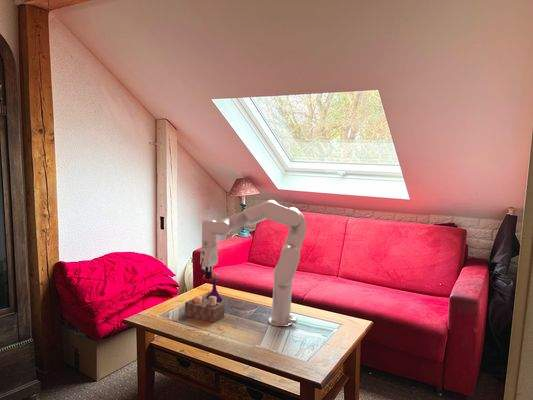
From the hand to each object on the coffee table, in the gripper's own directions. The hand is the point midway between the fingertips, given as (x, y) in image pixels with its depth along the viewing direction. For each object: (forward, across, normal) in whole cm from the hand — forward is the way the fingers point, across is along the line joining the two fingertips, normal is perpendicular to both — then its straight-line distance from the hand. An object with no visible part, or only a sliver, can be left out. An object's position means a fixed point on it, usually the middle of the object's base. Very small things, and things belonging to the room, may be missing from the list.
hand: (208, 278), depth 209 cm
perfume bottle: (+21, +18, +8) cm, 28 cm away
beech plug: (+17, 0, -3) cm, 17 cm away
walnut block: (+20, 0, +2) cm, 20 cm away
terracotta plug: (+18, 0, +6) cm, 19 cm away
